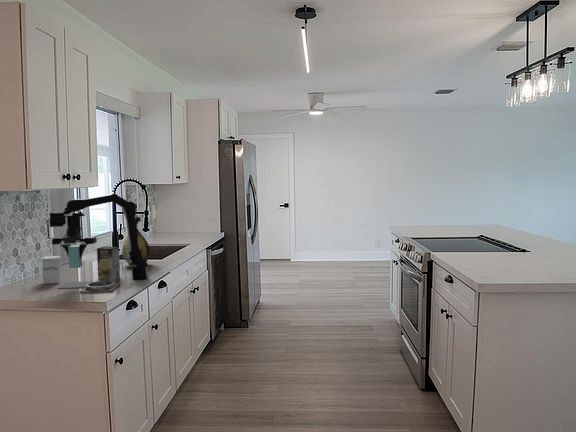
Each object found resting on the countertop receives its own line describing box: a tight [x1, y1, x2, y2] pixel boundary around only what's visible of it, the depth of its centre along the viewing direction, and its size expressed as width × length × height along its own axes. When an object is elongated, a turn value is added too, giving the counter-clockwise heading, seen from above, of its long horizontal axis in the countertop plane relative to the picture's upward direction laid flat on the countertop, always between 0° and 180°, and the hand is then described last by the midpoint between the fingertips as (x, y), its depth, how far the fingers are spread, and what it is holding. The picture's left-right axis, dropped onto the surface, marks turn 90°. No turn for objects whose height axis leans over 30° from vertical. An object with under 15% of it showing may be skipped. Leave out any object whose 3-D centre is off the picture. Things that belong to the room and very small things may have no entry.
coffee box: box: [96, 245, 121, 281], centre depth 234 cm, size 9×6×16 cm
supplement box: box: [41, 255, 63, 285], centre depth 227 cm, size 7×7×13 cm
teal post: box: [68, 244, 83, 269], centre depth 218 cm, size 4×4×10 cm
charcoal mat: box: [57, 280, 94, 290], centre depth 220 cm, size 12×12×1 cm
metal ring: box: [86, 280, 116, 290], centre depth 213 cm, size 12×12×2 cm
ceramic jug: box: [121, 216, 151, 268], centre depth 265 cm, size 17×15×30 cm
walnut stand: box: [79, 282, 121, 294], centre depth 213 cm, size 14×14×1 cm
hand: (75, 258), depth 219 cm, fingers closed on teal post, 4 cm apart
